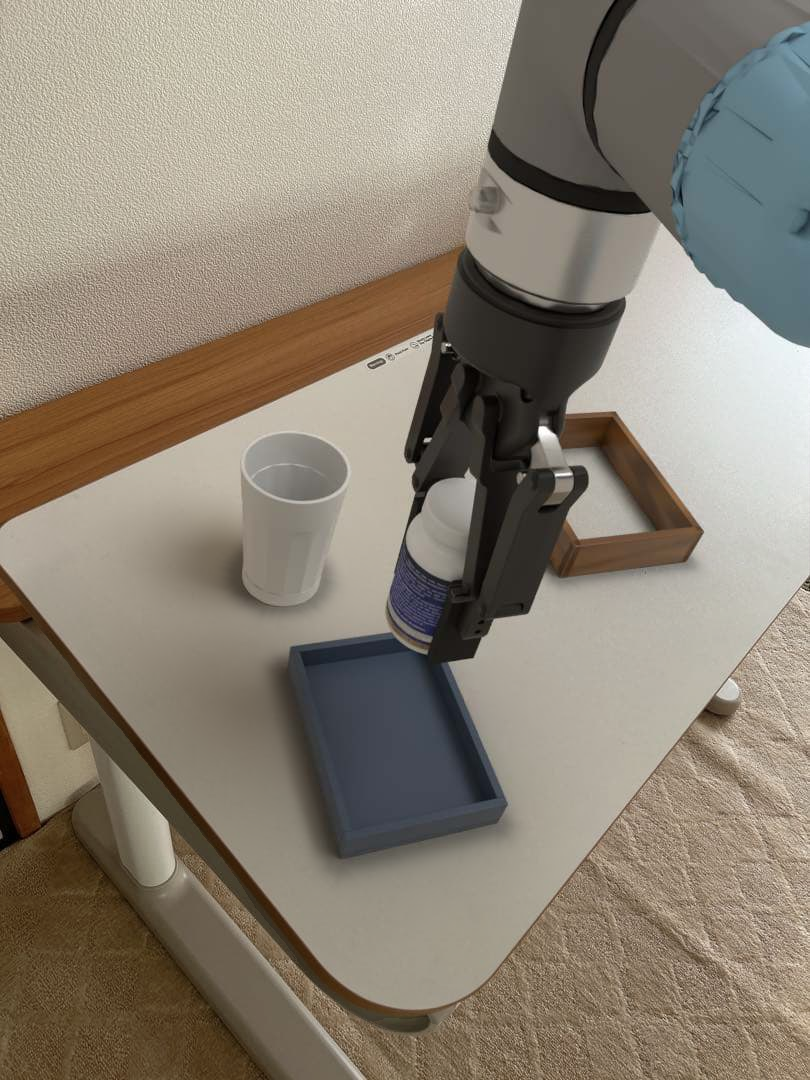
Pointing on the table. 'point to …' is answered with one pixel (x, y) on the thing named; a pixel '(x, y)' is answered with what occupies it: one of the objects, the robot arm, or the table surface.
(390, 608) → the pill bottle
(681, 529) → the wooden frame
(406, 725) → the tray
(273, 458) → the cup
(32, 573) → the table surface
